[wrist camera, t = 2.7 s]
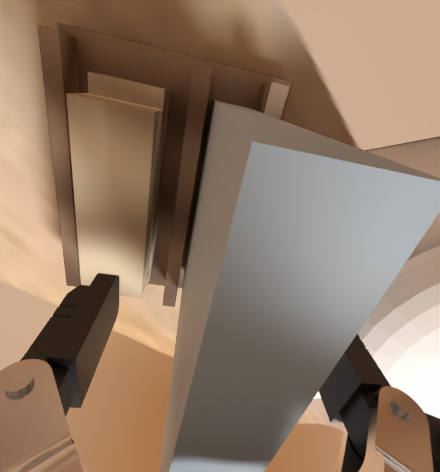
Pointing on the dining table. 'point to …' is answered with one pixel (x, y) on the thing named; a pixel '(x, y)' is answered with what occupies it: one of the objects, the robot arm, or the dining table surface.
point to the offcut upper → (114, 186)
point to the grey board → (279, 280)
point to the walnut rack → (177, 132)
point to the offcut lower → (142, 96)
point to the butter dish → (411, 301)
